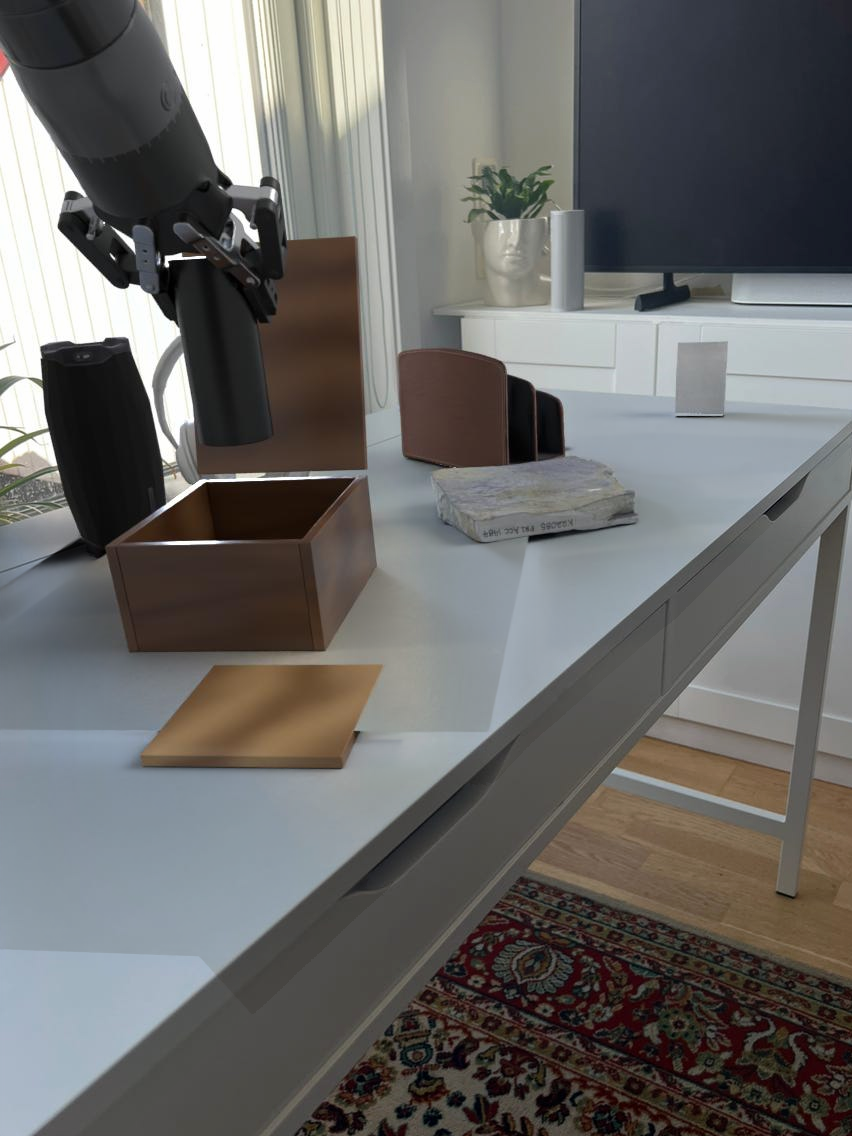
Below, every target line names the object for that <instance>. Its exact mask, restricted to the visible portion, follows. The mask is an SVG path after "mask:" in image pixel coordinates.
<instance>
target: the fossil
mask: <svg viewBox="0 0 852 1136" xmlns="http://www.w3.org/2000/svg"><path fill="white" fill-rule="evenodd" d="M613 473H614V470H613V469H612V468H611V467H609V466H607V465H606V464H603V463H601V462H600V461H599V462H598V461H595V460H592V459H587V458H581V457H578V456H577V455H567V456H565V457H562V458H557V459H551V460H544V461H538V462H528V463H522V464H514V465H506V466H486V467H467V468H451V467H447V468H440V469H436V470H432V471H430V474H429V477H430V482H431V485H432V488H433V489H432V490H433V494H434V495H435V504H436V511H437V512H438V518H439V519H440V520H441V521H443V522H445V523H446V524H449V525H450V526H451V527H454V528H455V529H456V530H458V531H459V532H461V533H464V534H465V535H466V536H467V537H469V538H471V539H472V540H475V541H476V542H479V543H492V542H501V541H506V540H511V539H516V538H524V537H531V536H538V535H544V534H553V533H554V534H556V533H562V532H567V531H572V530H576V531H588V530H589V531H590V530H597V529H601V528H609V527H613V526H618V525H629V524H635V523H638V522H639V518H640V515H639V514H638V513H636V512H635V498H636V491H635V490H634V489H627V488H624V487H623V486H621V485H620V484H619V480H618V479H617V478H616V477H615V476H613Z"/></svg>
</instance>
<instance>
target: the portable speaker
mask: <svg viewBox="0 0 852 1136" xmlns="http://www.w3.org/2000/svg"><path fill="white" fill-rule="evenodd" d="M39 350H40V355H41V357H40V370H41V383H42V385H41V386H42V395H43V408H44V415H45V421H46V424H47V428H48V432H49V437H50V441H51V446H52V449H53V453H54V457H55V462H56V466H57V470H58V475H59V480H60V484H61V488H62V491H63V494H64V495H63V497H64V499H65V500H66V503H67V506H68V508H69V511H70V512H71V515H72V518H73V520H74V523H75V525H76V527H77V530H78V532H79V535H80V538H81V539H83V543H84V546H85V551H86V554H88V555H90V556H92V557H94V558H101V557H104V556H105V553H106V549H105V546H106V545H108V544H109V543H111V542H112V541H114V540H115V539H117V538H118V537H119V536H121V535H122V534H124V533H125V532H127V531H128V530H129V529H131V528H132V527H134V526H135V525H137V524H138V523H140V522H141V521H142V520H144V519H145V518H147V517H148V516H150V515H151V514H153V513H154V512H155V511H157V510H158V509H160V508H161V507H163V506H164V505H166V504H167V497H166V496H167V495H166V485H165V473H164V462H163V457H162V454H161V448H160V443H159V438H158V433H157V429H156V424H155V423H156V422H155V419H154V414H153V410H152V405H151V404H152V403H151V400H150V396H149V394H148V392H147V389H146V386H145V384H144V381H143V379H142V376H141V374H140V371H139V368H138V365H137V363H136V361H135V358H134V355H133V352H132V348H131V343H130V338H128V337H126V336H115V337H114V336H113V337H110V336H109V337H105V338H104V339H103V341H94V342H93V341H92V342H84V343H75V342H73V341H70V340H63V341H54V342H53V341H52V342H47V343H45V344H43V345H40V346H39Z"/></svg>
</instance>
